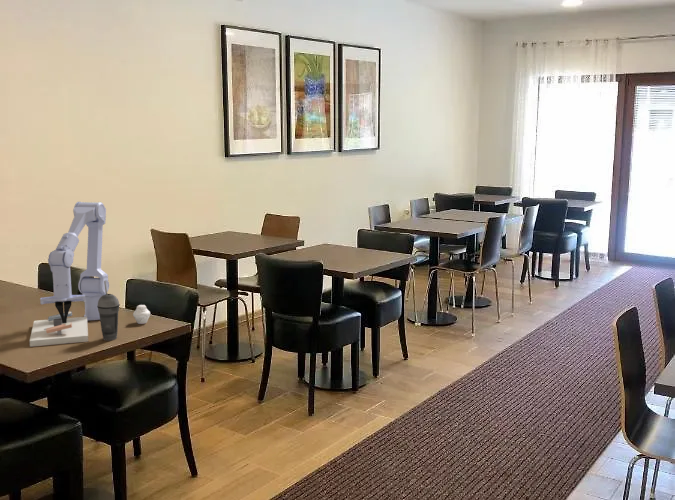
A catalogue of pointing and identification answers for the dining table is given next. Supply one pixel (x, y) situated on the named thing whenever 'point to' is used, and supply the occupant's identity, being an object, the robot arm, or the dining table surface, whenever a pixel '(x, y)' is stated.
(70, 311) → the plate
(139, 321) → the white rounded jar
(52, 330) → the pink plate with label
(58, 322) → the block
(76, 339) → the switch panel
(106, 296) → the beverage cup
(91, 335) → the dining table surface
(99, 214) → the robot arm
